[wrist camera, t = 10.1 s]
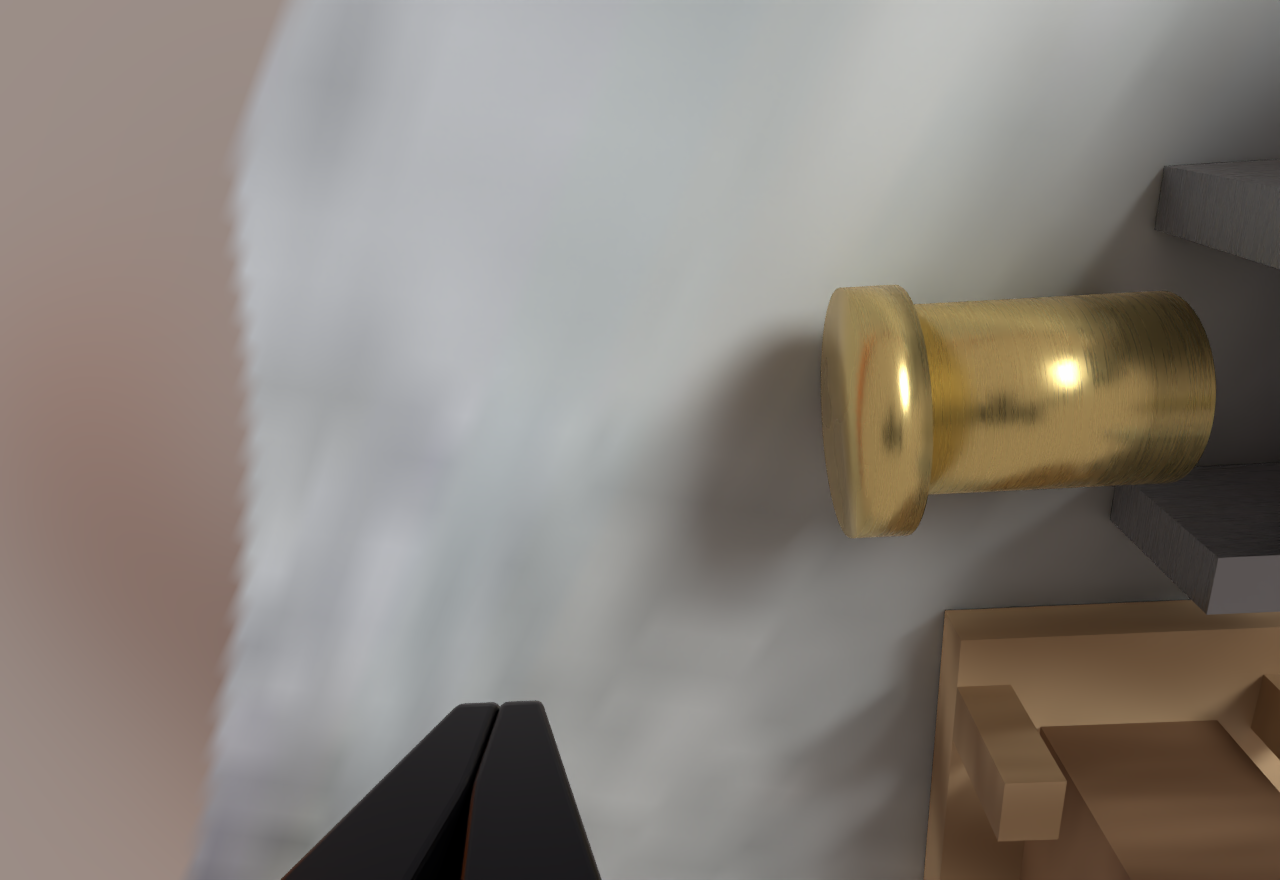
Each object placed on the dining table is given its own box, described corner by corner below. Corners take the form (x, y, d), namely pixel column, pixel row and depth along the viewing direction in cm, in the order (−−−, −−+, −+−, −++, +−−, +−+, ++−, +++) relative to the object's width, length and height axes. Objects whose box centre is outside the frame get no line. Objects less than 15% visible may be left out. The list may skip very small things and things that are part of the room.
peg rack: (944, 610, 21) (1011, 732, 17) (1295, 595, 21) (1442, 715, 17) (916, 970, 26) (963, 1131, 22) (1203, 961, 25) (1303, 1123, 21)
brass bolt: (1128, 247, 18) (1278, 303, 14) (1098, 460, 20) (1222, 570, 15) (822, 264, 18) (875, 324, 14) (819, 474, 20) (864, 586, 15)
